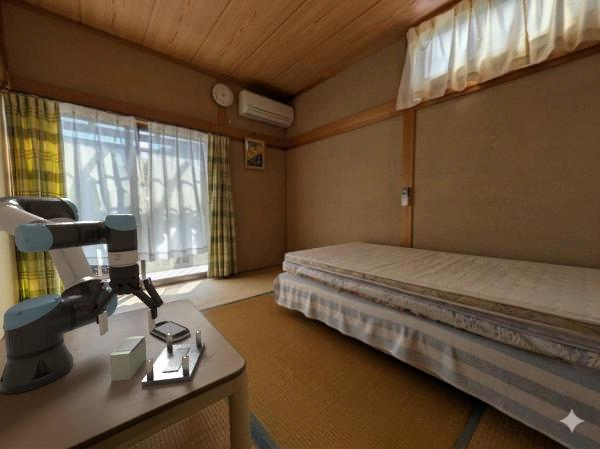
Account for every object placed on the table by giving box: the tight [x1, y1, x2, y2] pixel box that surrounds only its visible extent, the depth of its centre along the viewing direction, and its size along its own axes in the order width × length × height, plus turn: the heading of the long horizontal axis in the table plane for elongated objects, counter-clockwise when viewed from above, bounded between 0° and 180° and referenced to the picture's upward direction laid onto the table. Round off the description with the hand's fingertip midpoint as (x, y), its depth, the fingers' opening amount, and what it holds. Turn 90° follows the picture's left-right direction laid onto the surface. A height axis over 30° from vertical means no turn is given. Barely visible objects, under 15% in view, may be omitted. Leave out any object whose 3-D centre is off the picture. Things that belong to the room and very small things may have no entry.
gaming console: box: [149, 320, 191, 343], centre depth 97 cm, size 19×9×2 cm, turn 58°
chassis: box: [141, 330, 206, 387], centre depth 77 cm, size 13×18×6 cm
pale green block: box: [109, 335, 147, 382], centre depth 75 cm, size 5×10×8 cm, turn 9°
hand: (128, 331), depth 74 cm, fingers open, 13 cm apart
